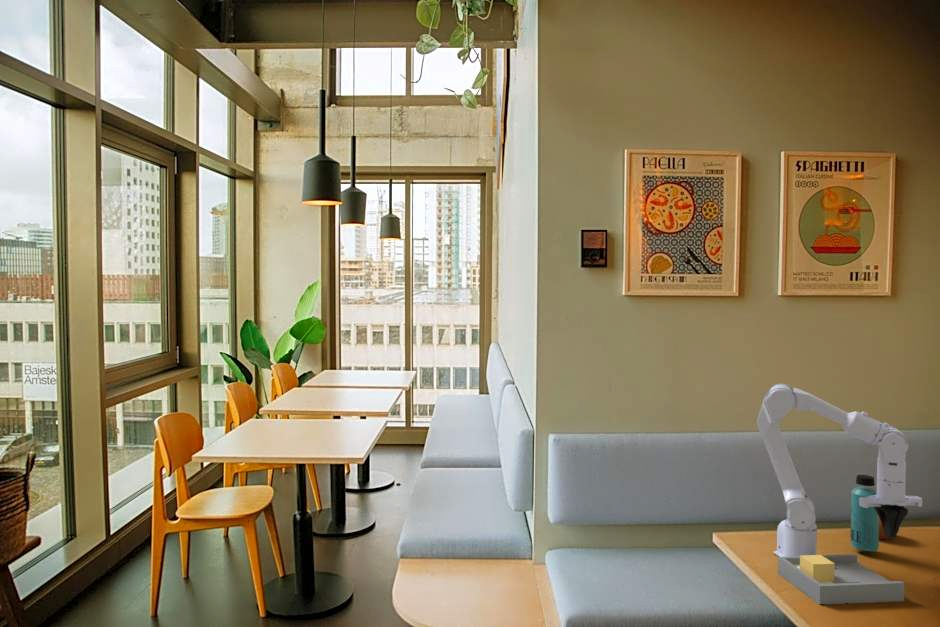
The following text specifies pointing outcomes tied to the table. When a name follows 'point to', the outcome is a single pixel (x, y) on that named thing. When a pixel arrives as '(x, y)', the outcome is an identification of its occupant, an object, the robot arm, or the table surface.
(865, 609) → the table surface
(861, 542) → the beverage bottle
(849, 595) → the box
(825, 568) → the block
